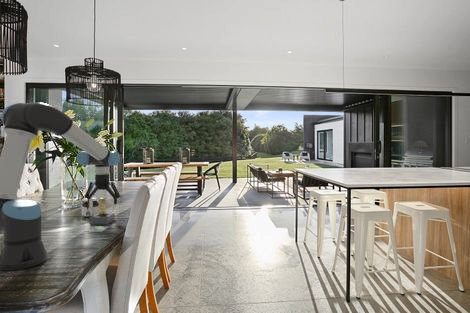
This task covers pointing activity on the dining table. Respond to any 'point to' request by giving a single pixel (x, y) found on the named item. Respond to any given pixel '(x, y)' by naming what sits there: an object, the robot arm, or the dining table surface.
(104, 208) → the plug
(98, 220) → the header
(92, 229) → the mat
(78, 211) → the dining table surface
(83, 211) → the spread jar
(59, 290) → the dining table surface
